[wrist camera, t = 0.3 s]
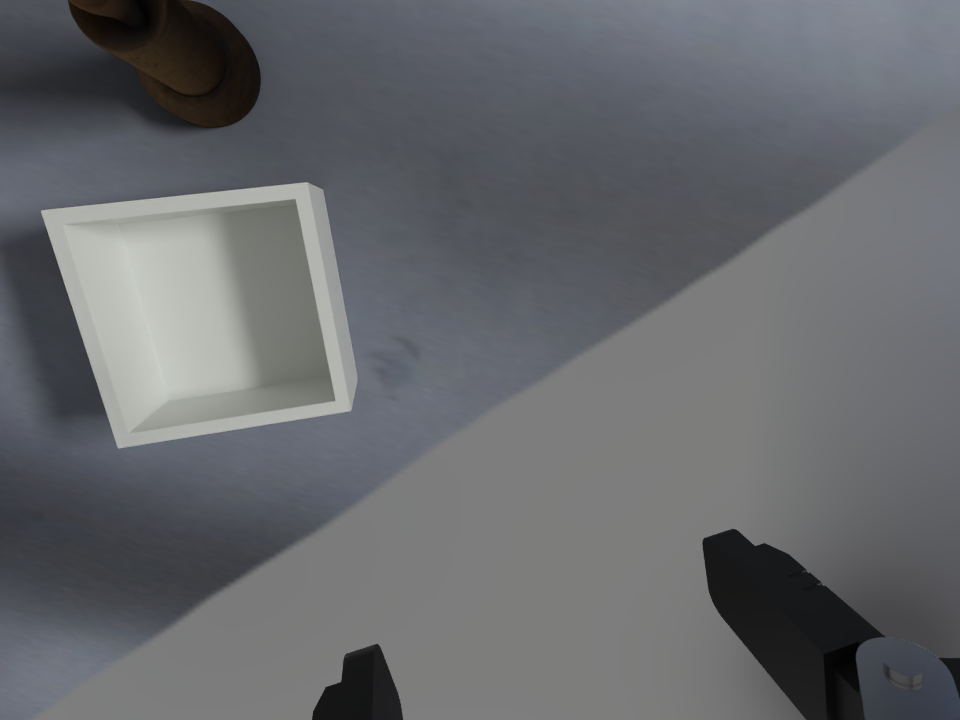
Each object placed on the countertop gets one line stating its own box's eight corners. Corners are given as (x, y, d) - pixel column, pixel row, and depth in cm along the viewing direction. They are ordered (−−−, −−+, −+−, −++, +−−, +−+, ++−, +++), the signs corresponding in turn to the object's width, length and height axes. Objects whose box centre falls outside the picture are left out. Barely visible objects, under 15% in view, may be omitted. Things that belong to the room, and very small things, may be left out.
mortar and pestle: (148, 117, 33) (-115, 4, 16) (147, 2, 32) (-143, -259, 14) (259, 136, 34) (127, 49, 17) (263, 26, 33) (123, -189, 16)
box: (109, 212, 34) (40, 210, 27) (323, 189, 36) (307, 182, 29) (166, 408, 38) (117, 448, 31) (358, 379, 39) (351, 410, 33)
